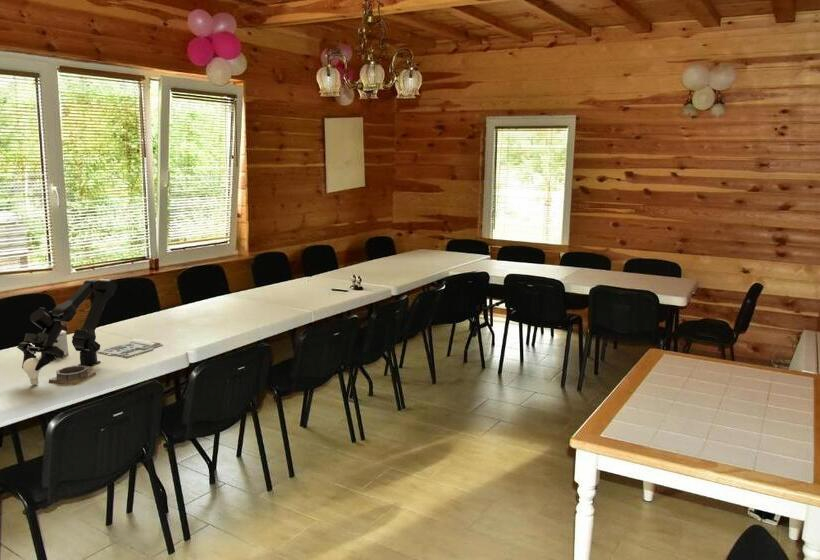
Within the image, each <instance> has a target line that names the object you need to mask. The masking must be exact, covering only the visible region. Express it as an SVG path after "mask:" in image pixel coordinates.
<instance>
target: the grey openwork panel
mask: <svg viewBox="0 0 820 560" xmlns="http://www.w3.org/2000/svg"><path fill="white" fill-rule="evenodd" d="M162 346H164V345H163V343H161V342H157V341H152V340H147V339H141V338H134V339H131V340H130V341H129V342H124V343H121V344H118V345H114V346H110V347H107V348H102V349H100V350H98V351H97V352H99V353H98V354H101V353H105V354H104V355H106V354H111V355H119V356H118V357H120V356H123V357H122V358H125V357H126V358H125V359H129V358H128V357H130V358H132V356H133V357H136V356H138V355H139V354H140V355H143V354H146V353H148V352H149V353H150V352H151V351H154V350H155V349H156V347H157V348H160V347H162ZM138 349H139V350H142V349H143V350H142V351H138ZM134 350H136V351H138V352H135V351H134ZM131 351H132V352H134V353H132V352H131ZM97 352H96V353H97ZM127 352H129V353H131V354H129V353H127ZM124 353H126V354H124ZM142 353H143V354H142ZM111 355H110V356H111ZM135 355H136V356H135ZM140 355H139V356H140Z"/></svg>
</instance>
